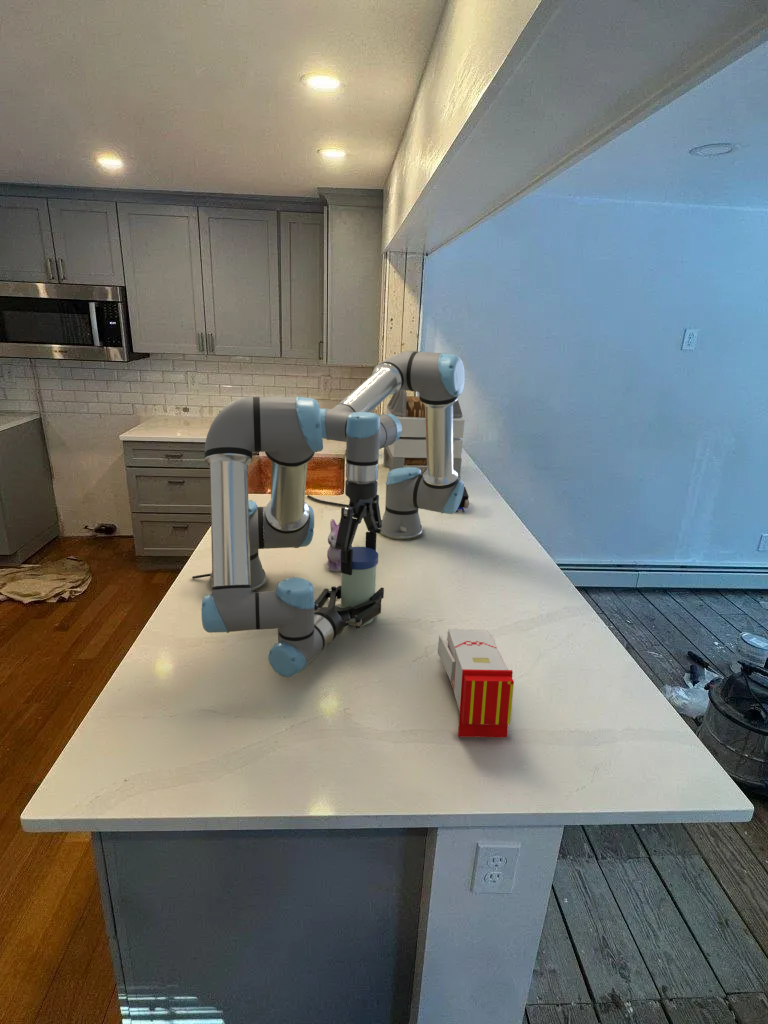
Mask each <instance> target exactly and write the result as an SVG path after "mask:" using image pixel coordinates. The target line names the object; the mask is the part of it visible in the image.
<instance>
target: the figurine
mask: <svg viewBox="0 0 768 1024" xmlns="http://www.w3.org/2000/svg"><path fill="white" fill-rule="evenodd" d="M329 524H330V525H329V526H330V532H329V534H328V536H327V543H328V545H329V547H328V548H327V552H326V553H327V555H326V556H327V562H326V565H327V570H328V571H332V572H341V563H340V552H341V550H340V549H336V548H335V545H336V540H337V535H338V530H339V525H340V521H339V522H338V524H337V523H336V520H335V519H333V518H332V519H330V523H329ZM351 547H353V545H352V546H351Z"/></svg>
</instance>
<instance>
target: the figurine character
mask: <svg viewBox="0 0 768 1024" xmlns="http://www.w3.org/2000/svg"><path fill="white" fill-rule="evenodd" d="M469 498H470V496H469V494H468V491H467V488H466V486H464V491H463V496H462V499H461V502H460V505H459V507H458V509H457V510H456V512H455V513H458V510H461V511H462V513H465V509H469V506H470V500H469Z"/></svg>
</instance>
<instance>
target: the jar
mask: <svg viewBox="0 0 768 1024" xmlns="http://www.w3.org/2000/svg"><path fill="white" fill-rule="evenodd" d="M340 573H341V572H340ZM340 575H341V577H340V580H341V581H340V586H341V598H340V607H342V608H345V607H348V606H352V607H353V606H356V605H359V604H362V603H365V602H368V601H370V597H372V596H373V595H374V594H375V593H376V580H377V578H376V577H377V565H376V566H374V567H372V568H369V569H362V570H358V569H352V575H347V574H344V573H341V574H340ZM374 619H375V617H374V618H372V619H371V620H369V621H368V622H366V623H364V624H363V625H362V626H367V625H369V624H371V623H373V621H374ZM348 626H353V627H355V625H351V624H349V625H348Z"/></svg>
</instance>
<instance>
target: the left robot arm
mask: <svg viewBox="0 0 768 1024" xmlns="http://www.w3.org/2000/svg"><path fill="white" fill-rule="evenodd" d="M319 409H320V404H319V402H318V400H316V399H315V398H314V397H313V398H312V397H304V396H299V395H298V396H250V395H249V396H243V397H239V398H236V399H234V400H233V401H231V402H229V403H228V404H226V405H225V406H224V407H223V408H222V409H221V410H220V411H219V412H218V414H216V416H215V418H214V419H213V421H212V423H211V424H210V426H209V429H208V432H207V434H206V439H205V442H204V462H205V464H207V466H209V479H210V480H209V481H210V482H209V483H210V484H209V485H210V489H209V490H210V532H211V534H210V535H211V537H210V538H211V540H210V541H211V573H204V574H198V575H193V576H191V578H192V580H195V579H200V578H207V577H209V585H210V588H211V589H212V590H211V593H210V594H206V595H204V596H203V597H202V599H201V624H202V629H203V630H204V631H205V632H206V633H211V634H212V633H227V634H228V633H233V632H243V631H245V632H246V631H254V630H257V631H258V630H273V629H277V642H275V643H274V645H273V646H272V647H271V648H270V650H269V652H268V655H267V656H268V657H267V659H268V663H269V665H270V667H271V669H272V670H273V671H274V673H276V674H278V675H279V676H281V677H284V678H293V677H295V676H296V675H298V674H299V673H300V672H301V671H302V670H304V669H305V668H307V666H308V665H309V664H310V663H311V662H312V661H313V660H314V659H315V658H316V657H317V656H318V655H319V654H320V653H321V652H323V650H324V649H325V648H326V647H328V645H329V644H331V643H332V641H334V640H335V639H336V638H337V637H338V636H339V635H340V634H341V633H342V631H343V630H344V628H346V627H349V626H353V625H355V626H354V628H355V630H359V629H361V628H362V626H364V625H363V624H364V623H366V622H368V621H369V620H371V619H372V618H374V619H375V618H376V617H378V616H379V615H381V614H382V600H383V599H384V597H385V588H384V587H380V588H379V589H378V590H376V591H375V594H374V595H373V596H372V597H370V601H368V602H365V603H362V604H359V605H356V606H353V607H352V606H348V607H345V608H342V607H341V606H339V605H336V601H337V600H341V585H338V586H334V585H333V586H331V589H329V588H326V587H325V588H324V589H323V590H322V591H321V593H320V594H319V595H318V597H317V598H316V599H315V588H314V586H313V584H312V582H310V581H309V580H308V579H305V578H303V577H289V578H287V579H282V580H281V581H280V582H278V584H277V585H276V589H275V590H272V591H271V590H270V591H258V590H260V589H261V588H263V587H264V586H265V585H266V582H267V575H266V571H265V570H264V567H263V565H262V562H261V559H260V556H259V550H264V549H265V550H267V549H268V550H269V549H287V548H288V549H290V548H292V549H293V548H294V549H299V548H303V547H308V546H309V545H311V543H312V541H313V537H314V533H315V532H314V529H315V513H314V508H313V507H312V506H311V505H308V504H307V502H306V489H307V477H308V465H309V464H308V463H309V462H310V461H312V459H313V458H314V456H315V454H316V453H318V452H322V451H323V450H324V441H323V440H324V439H323V438H322V429H321V420H320V410H319ZM253 452H254V453H265V456H266V457H267V459H268V460H270V501H268V503H267V504H266V506H258V504H257V502H256V501H254V500H252V499H250V500H249V475H248V471H249V469H248V467H249V466H250V465H251V463H253ZM328 600H329V601H328ZM327 602H328V604H327V606H325V604H326V603H327ZM349 624H351V625H349Z"/></svg>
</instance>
